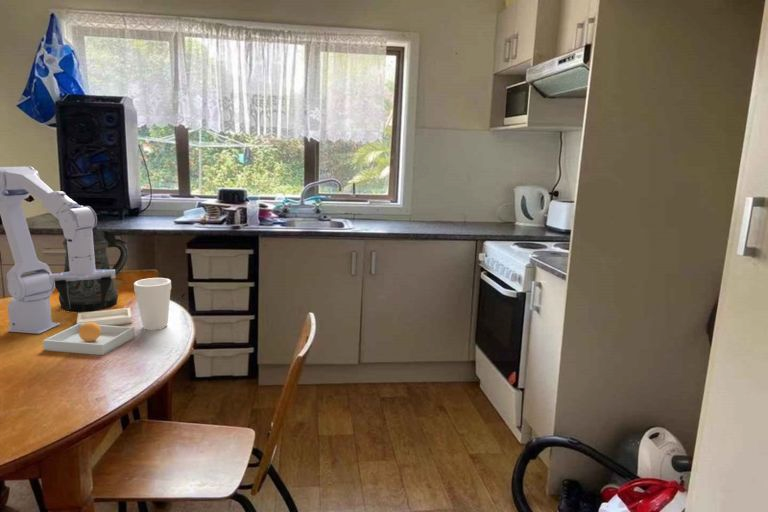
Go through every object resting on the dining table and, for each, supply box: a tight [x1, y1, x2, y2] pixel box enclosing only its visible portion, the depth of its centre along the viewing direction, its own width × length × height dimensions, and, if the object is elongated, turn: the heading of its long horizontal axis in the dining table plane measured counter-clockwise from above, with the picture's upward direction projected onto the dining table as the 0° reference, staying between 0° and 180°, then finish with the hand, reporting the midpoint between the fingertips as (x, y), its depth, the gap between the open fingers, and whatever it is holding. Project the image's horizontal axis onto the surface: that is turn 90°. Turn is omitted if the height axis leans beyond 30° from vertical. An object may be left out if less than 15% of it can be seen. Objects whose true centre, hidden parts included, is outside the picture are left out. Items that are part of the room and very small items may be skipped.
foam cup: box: [133, 277, 172, 331], centre depth 150 cm, size 10×9×13 cm
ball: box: [79, 322, 101, 342], centre depth 137 cm, size 5×5×5 cm
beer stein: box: [58, 225, 129, 313], centre depth 167 cm, size 16×19×25 cm
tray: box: [42, 323, 135, 356], centre depth 137 cm, size 16×13×3 cm
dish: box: [76, 307, 133, 326], centre depth 154 cm, size 14×9×2 cm
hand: (86, 307), depth 136 cm, fingers open, 7 cm apart
